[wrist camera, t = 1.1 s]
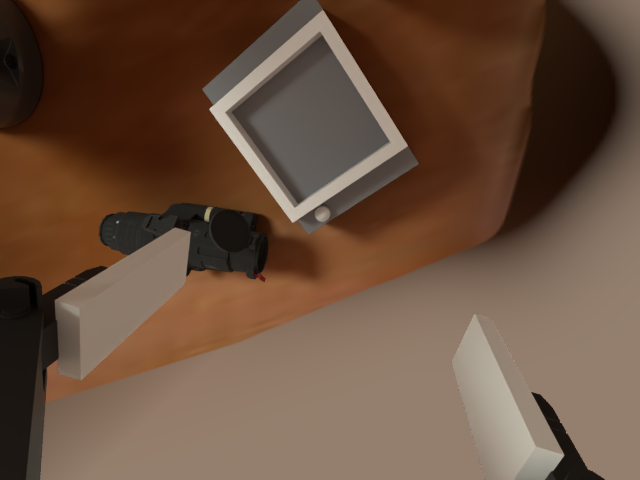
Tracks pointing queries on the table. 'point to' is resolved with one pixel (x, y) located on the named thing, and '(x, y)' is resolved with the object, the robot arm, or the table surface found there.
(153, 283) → the robot arm
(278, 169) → the grey tray
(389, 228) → the table surface
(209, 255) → the night vision scope
